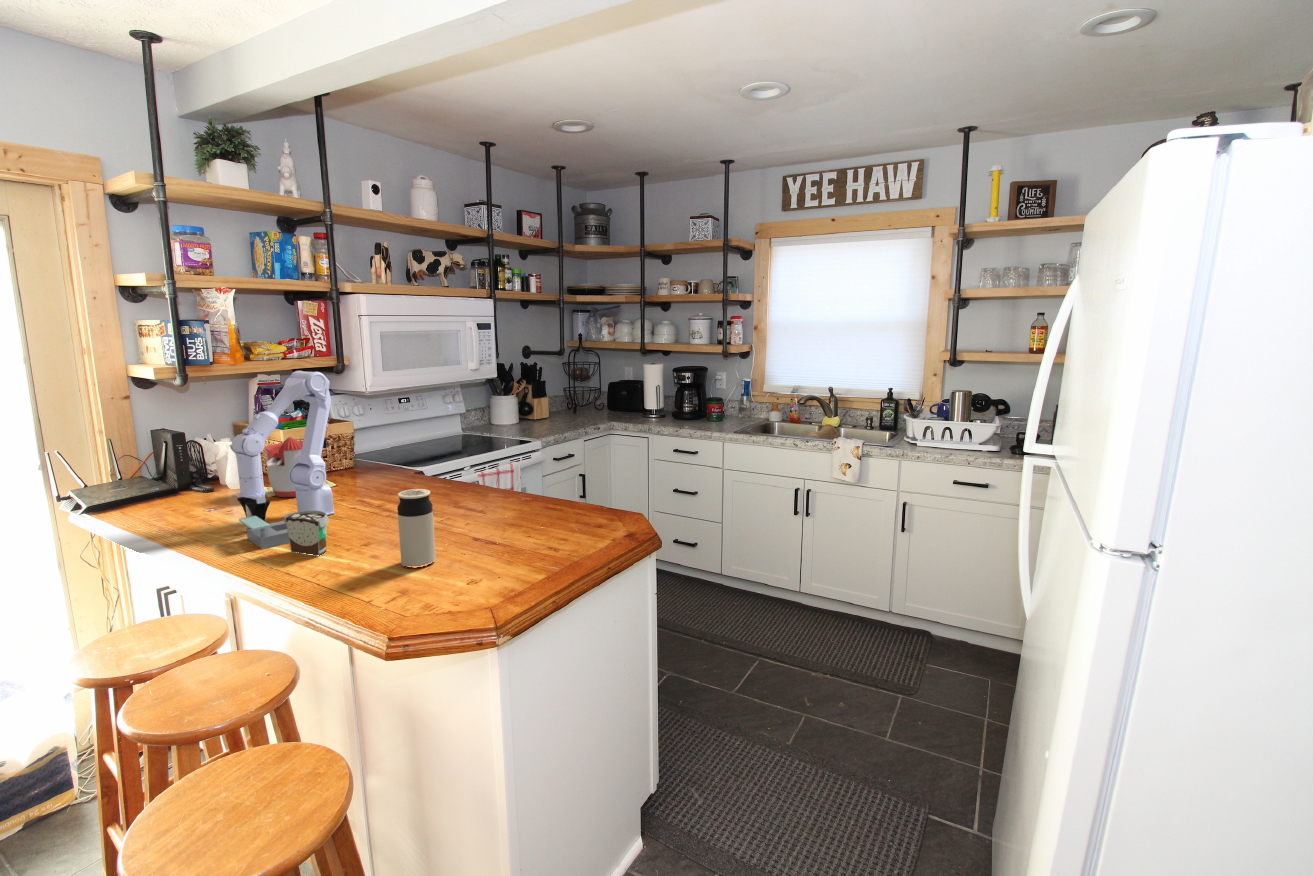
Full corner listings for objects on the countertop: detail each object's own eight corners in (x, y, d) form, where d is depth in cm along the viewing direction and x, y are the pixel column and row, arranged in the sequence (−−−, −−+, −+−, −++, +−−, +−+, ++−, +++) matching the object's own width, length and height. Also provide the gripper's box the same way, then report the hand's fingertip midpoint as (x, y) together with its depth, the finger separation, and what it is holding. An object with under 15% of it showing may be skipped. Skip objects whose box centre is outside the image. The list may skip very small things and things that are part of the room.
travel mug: (415, 571, 152) (410, 498, 148) (394, 564, 156) (389, 494, 153) (442, 561, 158) (438, 491, 155) (421, 555, 162) (417, 486, 159)
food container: (342, 549, 166) (339, 512, 164) (323, 557, 161) (320, 519, 159) (306, 544, 170) (303, 508, 168) (286, 551, 164) (282, 514, 163)
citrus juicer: (253, 500, 211) (247, 441, 208) (291, 487, 228) (286, 432, 225) (295, 502, 209) (289, 442, 205) (330, 489, 226) (325, 433, 222)
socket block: (295, 528, 183) (293, 508, 182) (311, 538, 175) (309, 517, 174) (241, 540, 173) (238, 518, 172) (255, 550, 165) (253, 528, 164)
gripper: (226, 474, 180) (232, 520, 182) (242, 483, 170) (248, 532, 173) (254, 470, 185) (259, 515, 187) (271, 478, 175) (276, 526, 178)
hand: (256, 523), depth 180 cm, fingers open, 6 cm apart
